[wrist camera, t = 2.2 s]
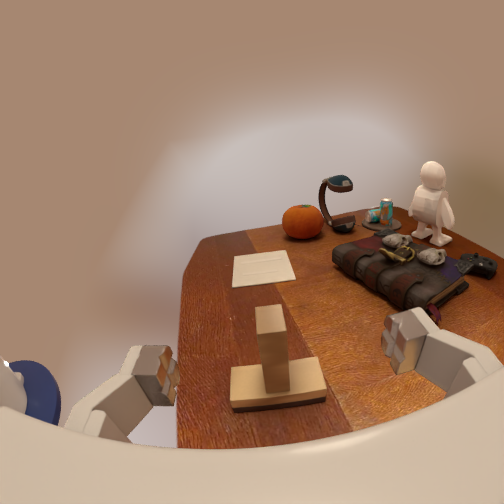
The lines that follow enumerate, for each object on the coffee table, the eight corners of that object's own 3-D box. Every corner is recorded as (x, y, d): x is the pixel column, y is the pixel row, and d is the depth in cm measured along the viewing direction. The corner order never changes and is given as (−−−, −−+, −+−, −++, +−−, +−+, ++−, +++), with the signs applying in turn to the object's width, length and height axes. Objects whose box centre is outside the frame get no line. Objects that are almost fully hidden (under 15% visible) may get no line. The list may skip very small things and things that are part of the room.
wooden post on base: (233, 412, 26) (211, 342, 21) (234, 380, 30) (216, 308, 26) (325, 401, 26) (332, 327, 21) (316, 369, 30) (318, 295, 26)
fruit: (292, 246, 65) (290, 214, 62) (278, 234, 75) (275, 205, 71) (331, 238, 67) (330, 207, 64) (313, 227, 77) (311, 199, 73)
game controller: (496, 264, 40) (502, 253, 36) (492, 287, 39) (498, 278, 35) (460, 255, 47) (463, 244, 42) (456, 278, 46) (459, 268, 42)
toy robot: (457, 242, 55) (463, 164, 47) (443, 252, 52) (449, 165, 44) (418, 228, 66) (420, 157, 59) (400, 235, 64) (402, 158, 56)
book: (328, 265, 54) (328, 232, 51) (387, 245, 59) (389, 216, 56) (427, 335, 31) (440, 291, 28) (479, 292, 36) (488, 256, 33)
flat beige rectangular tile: (232, 288, 51) (232, 286, 51) (234, 257, 64) (234, 256, 64) (295, 280, 51) (295, 278, 51) (285, 250, 64) (285, 249, 64)
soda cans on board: (374, 234, 66) (375, 204, 63) (355, 220, 77) (354, 195, 74) (409, 228, 67) (410, 201, 64) (387, 216, 78) (388, 192, 75)
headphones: (377, 237, 62) (332, 221, 82) (373, 175, 57) (327, 173, 77) (357, 242, 60) (314, 225, 81) (352, 177, 56) (308, 175, 76)
